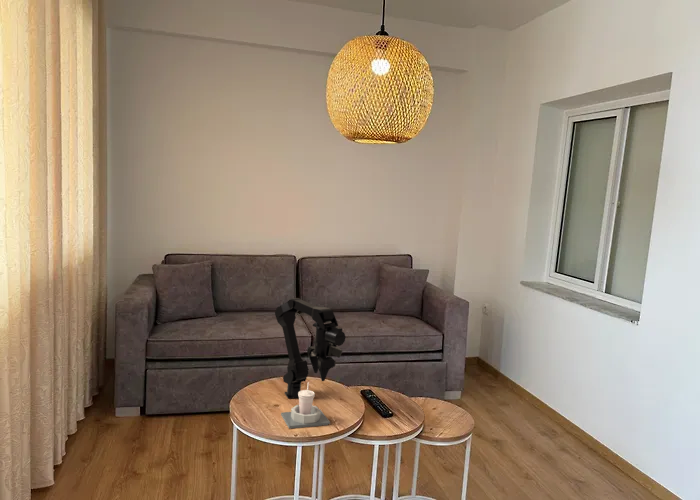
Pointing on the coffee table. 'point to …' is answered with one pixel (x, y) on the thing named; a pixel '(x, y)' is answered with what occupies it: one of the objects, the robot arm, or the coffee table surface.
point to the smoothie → (305, 400)
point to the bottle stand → (304, 418)
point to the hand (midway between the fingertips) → (319, 376)
